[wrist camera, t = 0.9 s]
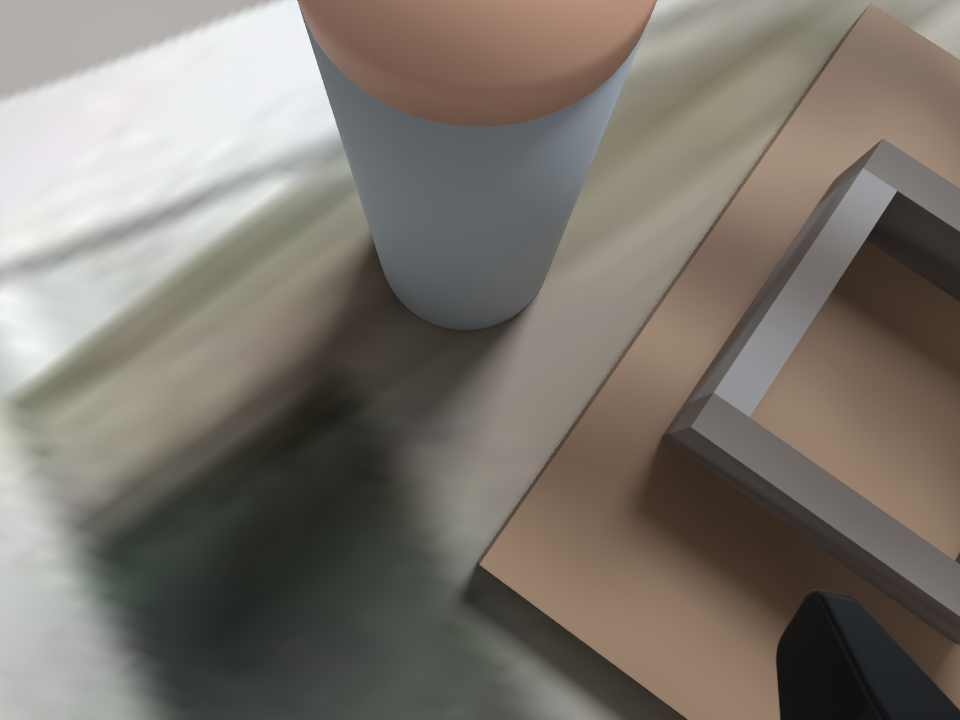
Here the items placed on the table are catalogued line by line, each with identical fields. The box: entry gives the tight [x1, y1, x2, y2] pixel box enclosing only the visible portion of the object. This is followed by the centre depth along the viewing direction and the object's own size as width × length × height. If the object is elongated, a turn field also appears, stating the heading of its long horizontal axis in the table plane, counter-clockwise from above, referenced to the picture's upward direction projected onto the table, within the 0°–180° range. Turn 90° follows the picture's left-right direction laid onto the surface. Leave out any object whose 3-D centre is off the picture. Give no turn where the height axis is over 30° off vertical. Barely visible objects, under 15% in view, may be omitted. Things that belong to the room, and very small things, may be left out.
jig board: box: [478, 4, 960, 720], centre depth 20 cm, size 20×13×4 cm, turn 144°
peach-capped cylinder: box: [297, 0, 657, 330], centre depth 16 cm, size 5×5×13 cm
